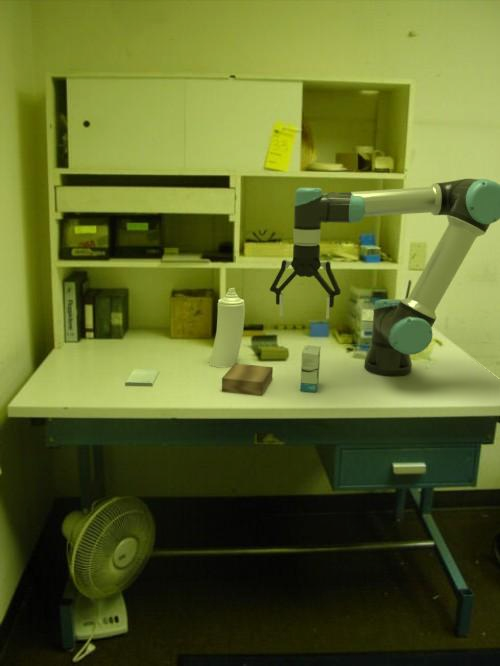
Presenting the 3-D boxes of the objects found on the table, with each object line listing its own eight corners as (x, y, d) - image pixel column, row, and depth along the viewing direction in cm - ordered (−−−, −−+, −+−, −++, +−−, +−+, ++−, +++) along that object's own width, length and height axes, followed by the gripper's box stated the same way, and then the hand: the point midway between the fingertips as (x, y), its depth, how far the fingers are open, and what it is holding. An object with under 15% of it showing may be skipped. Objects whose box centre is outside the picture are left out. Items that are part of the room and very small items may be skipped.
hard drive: (152, 383, 181) (159, 369, 193) (124, 382, 181) (133, 368, 193) (152, 388, 181) (159, 374, 193) (125, 387, 181) (133, 373, 193)
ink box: (316, 392, 179) (318, 354, 176) (299, 391, 180) (301, 352, 177) (319, 382, 187) (321, 345, 184) (303, 381, 188) (304, 344, 185)
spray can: (217, 355, 211) (217, 283, 204) (247, 358, 208) (248, 286, 201) (205, 365, 200) (205, 290, 193) (237, 369, 197) (238, 293, 191)
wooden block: (272, 379, 189) (272, 367, 188) (262, 395, 176) (262, 382, 175) (234, 375, 192) (234, 363, 190) (221, 391, 178) (222, 378, 177)
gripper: (351, 243, 175) (348, 316, 181) (265, 240, 180) (264, 311, 185) (350, 247, 168) (346, 322, 174) (260, 244, 172) (259, 317, 178)
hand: (304, 316), depth 179 cm, fingers open, 13 cm apart
